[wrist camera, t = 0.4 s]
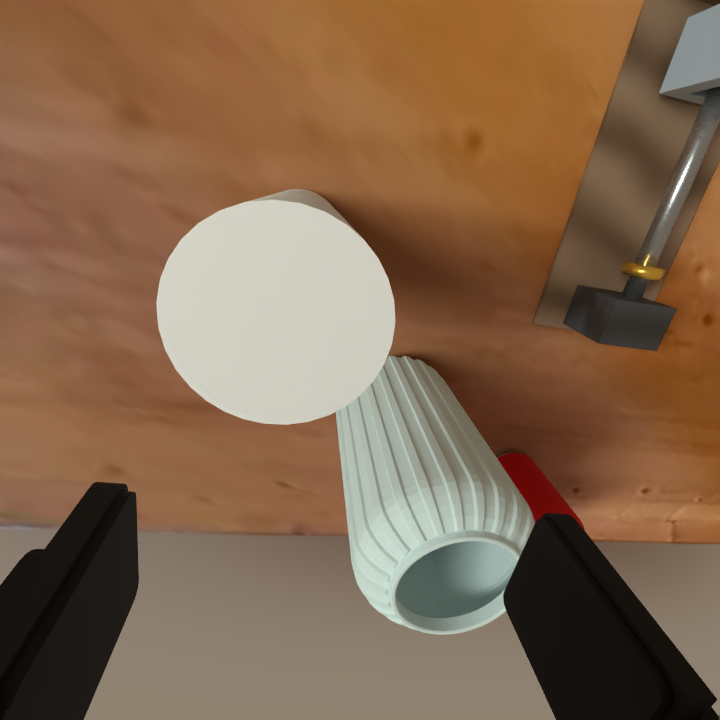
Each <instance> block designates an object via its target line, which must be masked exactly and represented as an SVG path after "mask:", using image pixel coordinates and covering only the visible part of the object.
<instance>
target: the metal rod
mask: <svg viewBox="0 0 720 720" xmlns="http://www.w3.org/2000/svg"><path fill="white" fill-rule="evenodd" d="M719 124H720V86H719V87H715V88H711V89H708V92H707V94H706V96H705V99H704V101H703V103H702V106H701V108H700V110H699V113H698V115H697V118H696V120H695V122H694V125H693V127H692V129H691V132H690V134H689V136H688V139H687V141H686V143H685V146H684V148H683V151H682V153H681V155H680V158H679V160H678V162H677V165H676V167H675V169H674V172H673V174H672V177H671V179H670V181H669V184H668V186H667V188H666V191H665V193H664V195H663V198H662V200H661V202H660V205H659V207H658V210H657V212H656V214H655V217H654V219H653V221H652V224H651V226H650V228H649V231H648V233H647V235H646V238H645V240H644V243H643V245H642V247H641V250H640V252H639V254H638V257H637V259H636V261H635V263H633V262H627V261H625V262H624V264H623V266H622V269H621V271H620V273H623V274H626V275H630V276H629V278H628V280H627V283H626V285H625V287H624V290H623V292H622V294H621V297H624V298H627V299H631V300H635V301H641V299H642V297H643V295H644V292H645V290H646V288H647V286H648V283H649V281H650V280H653V281H661V280H662V278H663V276H664V274H665V271H666V270H665V269H662V268H658V267H656V265H657V263H658V261H659V259H660V256H661V254H662V252H663V250H664V247H665V245H666V243H667V241H668V238H669V236H670V234H671V232H672V229H673V227H674V225H675V223H676V220H677V218H678V216H679V214H680V211H681V209H682V207H683V205H684V202H685V200H686V198H687V196H688V193H689V191H690V189H691V187H692V184H693V182H694V180H695V178H696V175H697V173H698V171H699V169H700V166H701V164H702V162H703V160H704V157H705V155H706V153H707V151H708V148H709V146H710V144H711V142H712V139H713V137H714V135H715V133H716V130H717V128H718V126H719Z"/></svg>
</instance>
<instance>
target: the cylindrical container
mask: <svg viewBox="0 0 720 720" xmlns="http://www.w3.org/2000/svg"><path fill="white" fill-rule="evenodd" d="M156 304H157V317H158V328H159V331H160V334H161V338H162V341H163V344H164V348H165V350H166V352H167V354H168V356H169V358H170V360H171V361H172V363H173V365H174V367H175V369H176V370H177V372H178V373H179V374H180V375H181V376H182V378H183V379H184V380H185V381H186V382H187V384H188V385H189V386H190V387H191V388H192V389H193V390H194V391H196V392H197V393H198V394H199V395H200V396H201V397H203V398H204V399H205V400H206V401H208V402H209V403H211V404H213V405H214V406H216V407H218V408H219V409H221V410H223V411H225V412H227V413H230V414H232V415H235V416H237V417H240V418H242V419H246V420H250V421H255V422H260V423H264V424H286V425H287V424H295V423H302V422H309V421H312V420H315V419H318V418H322V417H325V416H328V415H330V414H332V413H334V412H336V411H338V410H340V409H341V408H343V407H345V406H347V405H348V404H349V403H351V402H352V401H353V400H355V399H356V398H357V397H359V396H360V395H361V394H362V393H363V392H364V391H365V390H366V389H367V388H368V387H369V385H370V384H371V383H372V382H373V381H374V380H375V378H376V376H377V375H378V373H379V372H380V370H381V369H382V367H383V365H384V364H385V361H386V358H387V356H388V353H389V351H390V348H391V345H392V340H393V334H394V328H395V307H394V298H393V294H392V290H391V287H390V283H389V279H388V277H387V275H386V273H385V271H384V269H383V267H382V265H381V263H380V261H379V259H378V257H377V256H376V255H375V253H374V252H373V251H372V249H371V248H370V247H369V246H368V244H367V243H366V242H365V240H364V239H363V238H362V237H361V236H360V235H359V234H358V233H357V232H356V231H355V230H354V229H353V228H352V226H351V225H350V224H349V223H348V222H347V221H346V220H345V219H344V218H343V217H342V216H341V215H340V214H339V213H338V212H337V211H336V210H335V208H334V207H333V206H332V205H331V204H330V203H329V202H328V201H327V200H325V199H324V198H323V197H322V196H320V195H318V194H317V193H315V192H312V191H309V190H304V189H291V190H287V191H283V192H280V193H276V194H272V195H269V196H266V197H262V198H259V199H255V200H251V201H248V202H244V203H241V204H238V205H235V206H232V207H229V208H226V209H223V210H220V211H218V212H216V213H215V214H213V215H211V216H210V217H208V218H206V219H205V220H203V221H201V222H200V223H198V224H197V225H196V226H195V227H194V228H193V229H192V230H191V231H190V232H189V233H188V234H186V235H185V236H184V237H183V238H182V239H181V241H180V242H179V244H178V245H177V247H176V248H175V249H174V251H173V252H172V254H171V255H170V257H169V258H168V261H167V263H166V266H165V268H164V271H163V273H162V276H161V278H160V283H159V290H158V296H157V303H156Z"/></svg>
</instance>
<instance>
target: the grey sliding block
mask: <svg viewBox="0 0 720 720" xmlns="http://www.w3.org/2000/svg"><path fill="white" fill-rule="evenodd" d="M719 86H720V4H718V5H716V6H713V7H711V8H709V9H707V10H704V11H702V12H700V13H697V14H695V15H693V16H691V17H688V19H687V22H686V24H685V27H684V29H683V32H682V35H681V37H680V40H679V42H678V45H677V48H676V50H675V53H674V55H673V58H672V61H671V63H670V66H669V68H668V71H667V74H666V76H665V79H664V81H663V84H662V87H661V89H660V92H659V94H663V95H666V96H670V97H674V98H678V99H682V100H686V101H690V102H693V103H697V104H701V105H702V103H703V101H704V99H705V96H706V94H707V92H708V89H711V88H715V87H719Z"/></svg>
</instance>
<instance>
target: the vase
mask: <svg viewBox="0 0 720 720" xmlns="http://www.w3.org/2000/svg"><path fill="white" fill-rule="evenodd" d="M336 420H337V430H338V439H339V448H340V458H341V467H342V477H343V486H344V495H345V505H346V514H347V524H348V533H349V542H350V551H351V561H352V566H353V570H354V573H355V578H356V581H357V584H358V586H359V588H360V590H361V591H362V593H363V594H364V596H366V598H367V599H368V601H369V602H370V604H371V605H372V606H373V607H374V608H375V609H376V610H377V611H379V612H380V613H381V614H383V615H385V616H386V617H387V618H388V619H390V620H391V621H393V622H396V623H398V624H400V625H405V626H406V627H409V628H411V629H414V630H418V631H421V632H425V633H430V634H455V633H461V632H465V631H469V630H472V629H476V628H478V627H481V626H483V625H485V624H487V623H489V622H491V621H492V620H494V619H496V618H497V617H499V616H500V615H501V614H503V613H504V612H505V611H506V609H505V606H504V601H503V594H504V591H505V588H506V586H507V584H508V582H509V580H510V577H511V575H512V573H513V571H514V569H515V566H516V564H517V562H518V560H519V558H520V555H521V553H522V551H523V549H524V547H525V544H526V542H527V540H528V538H529V536H530V533H531V531H532V529H533V527H534V525H535V520H534V518H533V515H532V512H531V510H530V507H529V506H528V504H527V502H526V501H525V499H524V498H523V496H522V495H521V493H520V492H519V490H518V489H517V487H516V486H515V484H514V483H513V481H512V480H511V479H510V477H509V476H508V474H507V473H506V471H505V470H504V468H503V467H502V465H501V464H500V462H499V461H498V459H497V458H496V456H495V455H494V453H493V452H492V450H491V449H490V447H489V446H488V444H487V443H486V442H485V440H484V439H483V437H482V436H481V434H480V433H479V431H478V430H477V428H476V427H475V425H474V424H473V422H472V421H471V419H470V418H469V416H468V415H467V413H466V412H465V410H464V409H463V407H462V406H461V404H460V403H459V402H458V400H457V399H456V397H455V396H454V394H453V393H452V391H451V390H450V388H449V387H448V385H447V384H446V382H445V381H444V379H443V378H442V377H441V376H440V375H439V374H438V372H437V371H436V370H435V369H434V368H432V367H431V366H427V365H426V364H425V363H424V362H423V361H421V360H418V359H416V360H413V359H411V358H410V357H408V356H402V357H395V356H388V358H386V361H385V364H384V365H383V367H382V369H381V370H380V372H379V373H378V375H377V376H376V378H375V380H374V381H373V382H372V383H371V384H370V385H369V387H368V388H367V389H366V390H365V391H364V392H363V393H362V394H361V395H360V396H359V397H357V398H356V399H355V400H353V401H352V402H351V403H349V404H348V405H347V406H345V407H343V408H341V409H340V410H338V411H336Z"/></svg>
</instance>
